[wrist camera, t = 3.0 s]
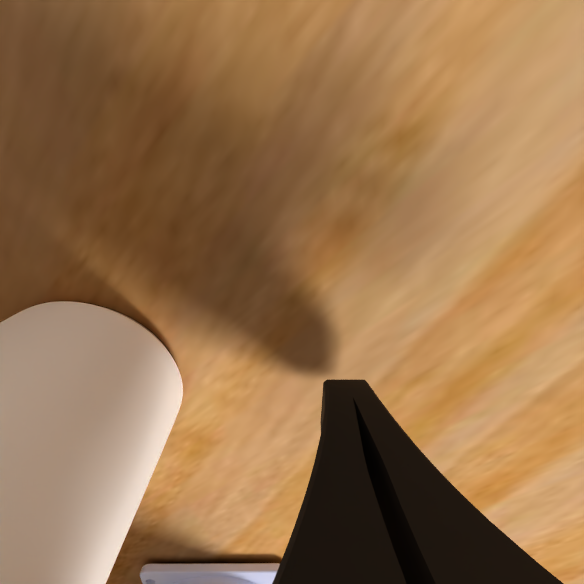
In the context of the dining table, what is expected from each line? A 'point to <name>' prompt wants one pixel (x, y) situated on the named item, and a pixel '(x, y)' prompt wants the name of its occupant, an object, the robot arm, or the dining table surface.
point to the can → (77, 437)
